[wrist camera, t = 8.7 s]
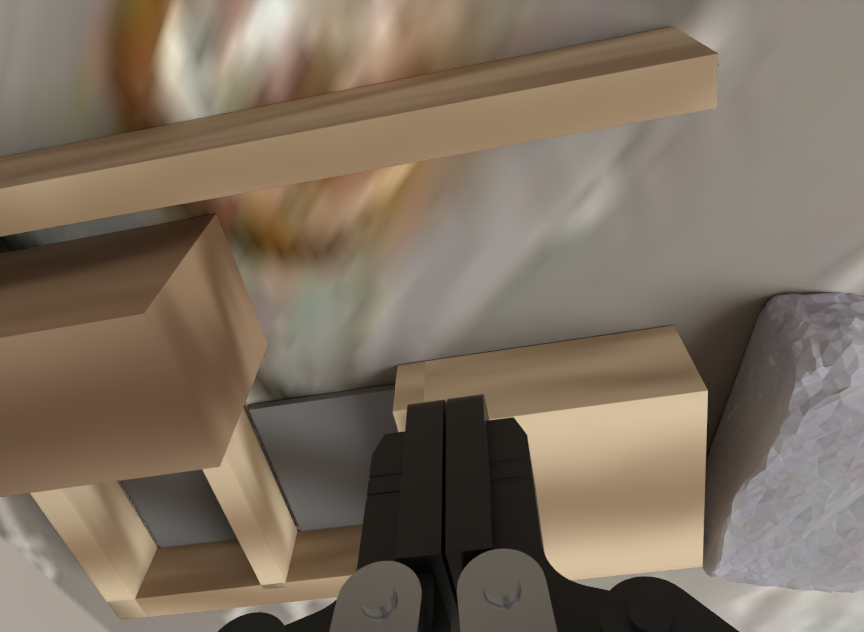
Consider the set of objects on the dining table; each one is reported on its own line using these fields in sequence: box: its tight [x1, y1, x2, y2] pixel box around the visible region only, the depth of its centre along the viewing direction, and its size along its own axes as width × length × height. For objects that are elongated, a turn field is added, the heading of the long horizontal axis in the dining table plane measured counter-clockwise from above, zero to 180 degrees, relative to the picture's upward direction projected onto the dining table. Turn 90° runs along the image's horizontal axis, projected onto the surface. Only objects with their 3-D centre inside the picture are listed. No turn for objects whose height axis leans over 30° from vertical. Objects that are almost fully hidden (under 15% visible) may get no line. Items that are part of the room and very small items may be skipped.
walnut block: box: [0, 214, 268, 497], centre depth 20 cm, size 5×8×6 cm, turn 101°
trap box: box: [0, 27, 718, 620], centre depth 22 cm, size 18×23×4 cm
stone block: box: [702, 292, 864, 593], centre depth 24 cm, size 12×5×10 cm
